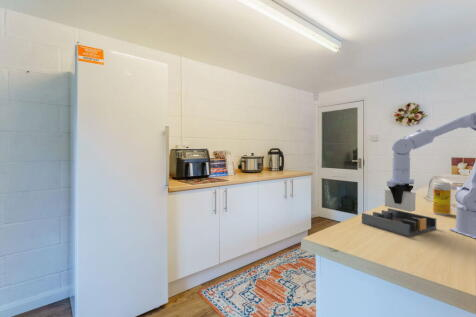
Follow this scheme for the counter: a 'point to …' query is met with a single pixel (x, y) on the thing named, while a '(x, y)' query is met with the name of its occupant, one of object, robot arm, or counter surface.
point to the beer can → (441, 198)
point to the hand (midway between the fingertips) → (400, 203)
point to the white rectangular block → (406, 203)
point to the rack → (400, 222)
